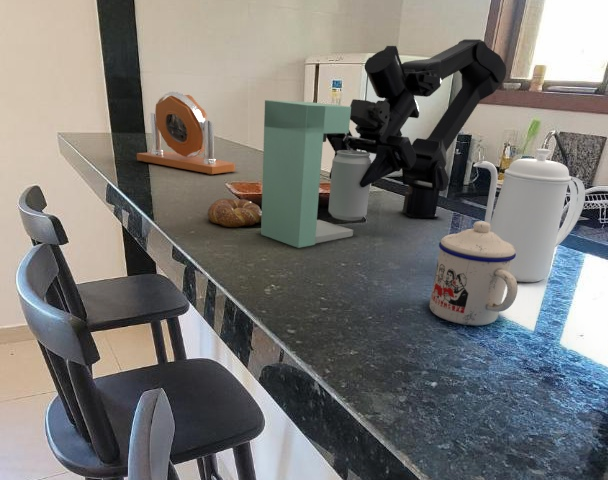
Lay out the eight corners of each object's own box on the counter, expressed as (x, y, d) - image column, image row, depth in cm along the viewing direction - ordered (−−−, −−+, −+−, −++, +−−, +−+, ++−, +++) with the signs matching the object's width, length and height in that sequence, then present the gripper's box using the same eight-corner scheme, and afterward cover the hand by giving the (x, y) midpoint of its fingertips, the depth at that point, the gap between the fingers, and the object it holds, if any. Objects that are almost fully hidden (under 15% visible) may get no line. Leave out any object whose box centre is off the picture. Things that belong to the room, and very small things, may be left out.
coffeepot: (427, 269, 84) (450, 142, 76) (536, 257, 95) (567, 145, 86) (475, 292, 76) (508, 153, 67) (589, 276, 87) (629, 154, 78)
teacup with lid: (413, 303, 70) (428, 215, 65) (467, 297, 74) (486, 212, 69) (472, 341, 61) (496, 241, 55) (531, 332, 64) (559, 237, 59)
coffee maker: (317, 225, 105) (326, 102, 95) (354, 236, 99) (369, 107, 89) (260, 234, 96) (264, 100, 86) (298, 248, 90) (307, 105, 80)
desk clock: (210, 176, 148) (209, 95, 138) (135, 161, 161) (130, 87, 152) (238, 172, 157) (239, 96, 148) (165, 158, 171) (161, 88, 161)
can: (354, 223, 99) (361, 155, 93) (320, 216, 102) (325, 150, 96) (372, 217, 104) (380, 152, 99) (340, 210, 108) (345, 147, 102)
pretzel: (252, 231, 98) (253, 211, 96) (196, 224, 99) (196, 204, 98) (269, 218, 108) (270, 199, 106) (218, 212, 110) (218, 193, 108)
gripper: (336, 80, 101) (291, 144, 99) (417, 85, 89) (367, 158, 87) (359, 125, 109) (317, 184, 107) (435, 135, 98) (390, 202, 96)
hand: (345, 182), depth 99 cm, fingers closed on can, 7 cm apart
